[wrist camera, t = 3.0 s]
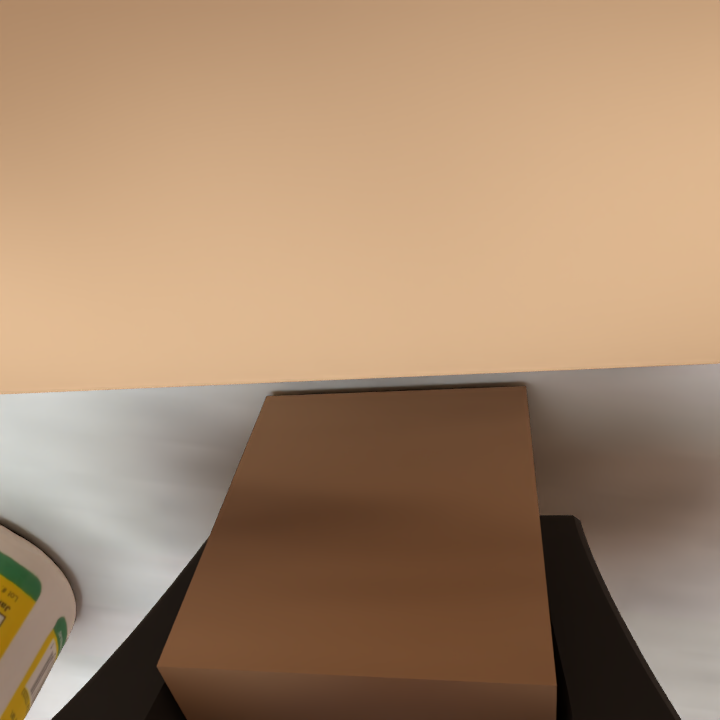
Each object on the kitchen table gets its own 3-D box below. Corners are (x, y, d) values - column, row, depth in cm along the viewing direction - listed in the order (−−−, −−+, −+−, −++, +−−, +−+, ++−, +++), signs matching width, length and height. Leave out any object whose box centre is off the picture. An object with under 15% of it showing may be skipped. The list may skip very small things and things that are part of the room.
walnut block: (529, 563, 13) (553, 861, 9) (314, 561, 14) (250, 832, 10) (526, 386, 11) (557, 686, 7) (266, 396, 12) (156, 666, 8)
